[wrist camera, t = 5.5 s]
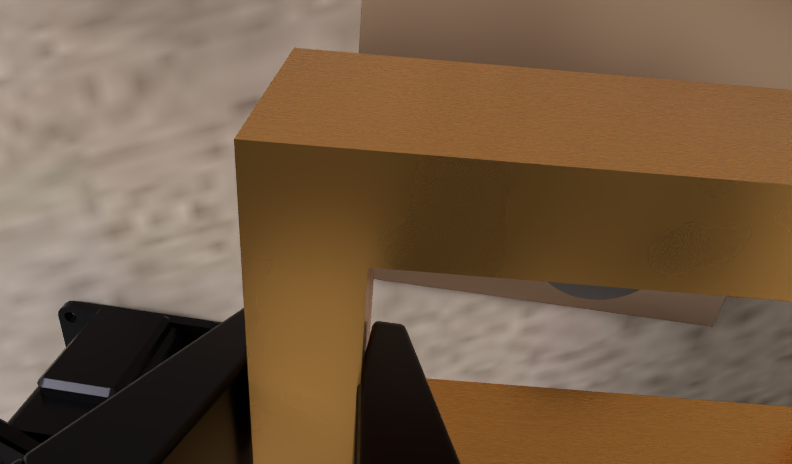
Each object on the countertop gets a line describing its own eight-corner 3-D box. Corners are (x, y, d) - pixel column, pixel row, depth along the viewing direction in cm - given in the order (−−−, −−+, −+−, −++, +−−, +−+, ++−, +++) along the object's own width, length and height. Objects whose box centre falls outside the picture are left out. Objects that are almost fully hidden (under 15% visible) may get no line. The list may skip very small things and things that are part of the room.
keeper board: (701, 304, 21) (791, 487, 15) (352, 255, 22) (301, 411, 16) (868, -92, 15) (1137, -58, 9) (377, -142, 16) (307, -143, 10)
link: (848, 461, 11) (973, 636, 9) (296, 418, 11) (260, 584, 9) (1076, 113, 8) (1386, 234, 5) (294, 47, 8) (233, 138, 5)
